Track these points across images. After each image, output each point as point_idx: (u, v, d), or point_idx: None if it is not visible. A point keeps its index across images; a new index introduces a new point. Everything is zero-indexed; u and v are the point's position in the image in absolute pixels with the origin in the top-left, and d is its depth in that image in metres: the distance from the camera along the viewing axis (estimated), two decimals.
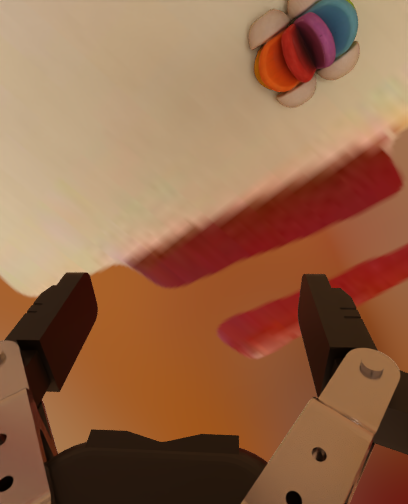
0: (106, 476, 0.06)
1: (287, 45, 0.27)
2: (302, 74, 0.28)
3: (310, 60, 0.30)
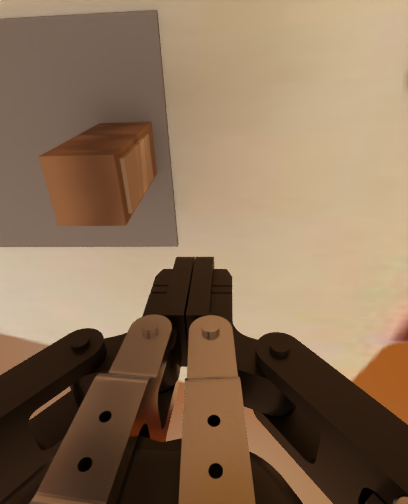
0: None
1: None
2: None
3: None
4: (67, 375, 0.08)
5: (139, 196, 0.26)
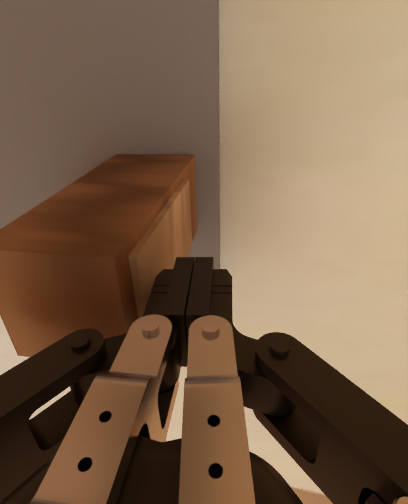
0: None
1: None
2: None
3: None
4: (67, 375, 0.08)
5: None
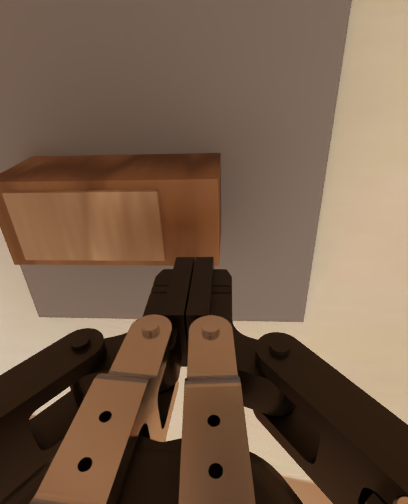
0: None
1: None
2: None
3: None
4: (67, 375, 0.08)
5: (65, 254, 0.19)
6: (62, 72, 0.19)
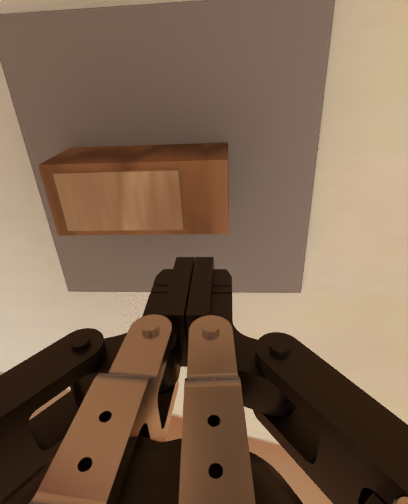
0: None
1: None
2: None
3: None
4: (68, 375, 0.08)
5: (101, 225, 0.23)
6: (98, 77, 0.23)
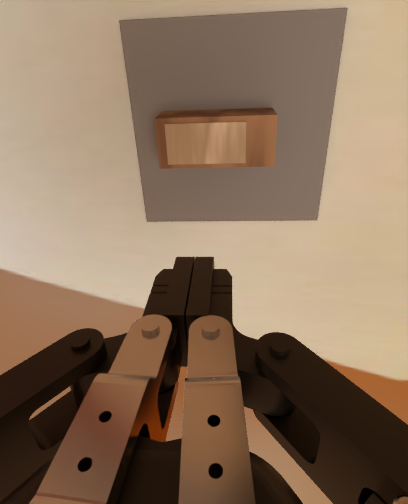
0: None
1: None
2: None
3: None
4: (67, 375, 0.08)
5: (190, 160, 0.35)
6: (188, 62, 0.35)
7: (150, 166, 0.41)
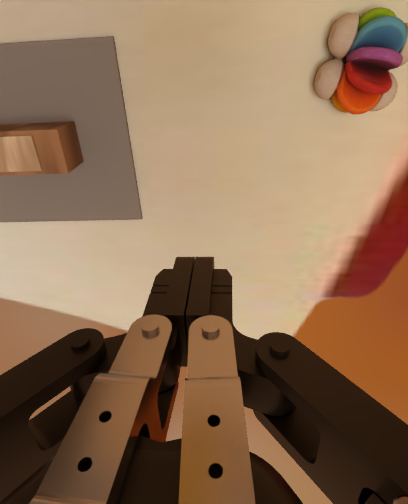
0: None
1: (359, 83, 0.32)
2: (385, 88, 0.33)
3: (380, 70, 0.34)
4: (68, 375, 0.08)
5: None
6: None
7: None
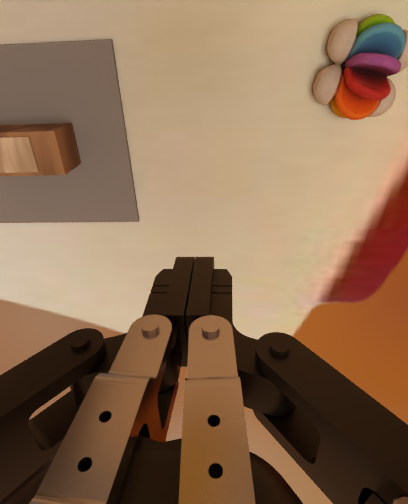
0: None
1: (358, 89, 0.32)
2: (383, 94, 0.33)
3: (379, 77, 0.34)
4: (67, 375, 0.08)
5: None
6: None
7: None
